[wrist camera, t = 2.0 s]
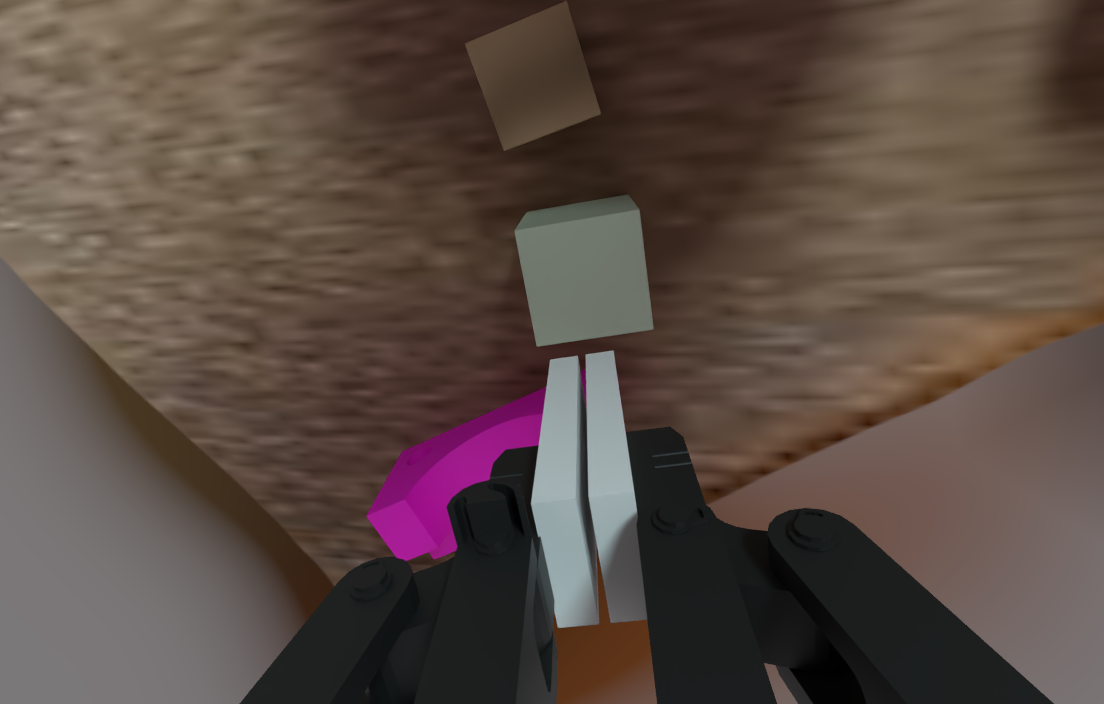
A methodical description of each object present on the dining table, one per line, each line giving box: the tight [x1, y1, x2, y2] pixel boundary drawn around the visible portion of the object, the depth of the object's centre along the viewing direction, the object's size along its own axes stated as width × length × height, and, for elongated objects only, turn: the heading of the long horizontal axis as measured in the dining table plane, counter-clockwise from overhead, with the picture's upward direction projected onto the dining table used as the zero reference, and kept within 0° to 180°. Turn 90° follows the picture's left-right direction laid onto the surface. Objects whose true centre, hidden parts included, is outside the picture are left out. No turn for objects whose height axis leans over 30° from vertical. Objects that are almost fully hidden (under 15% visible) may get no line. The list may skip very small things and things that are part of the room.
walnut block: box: [465, 1, 601, 151], centre depth 30 cm, size 5×5×5 cm
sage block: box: [514, 195, 654, 347], centre depth 32 cm, size 6×6×7 cm
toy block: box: [366, 369, 587, 561], centre depth 37 cm, size 15×6×8 cm, turn 117°
